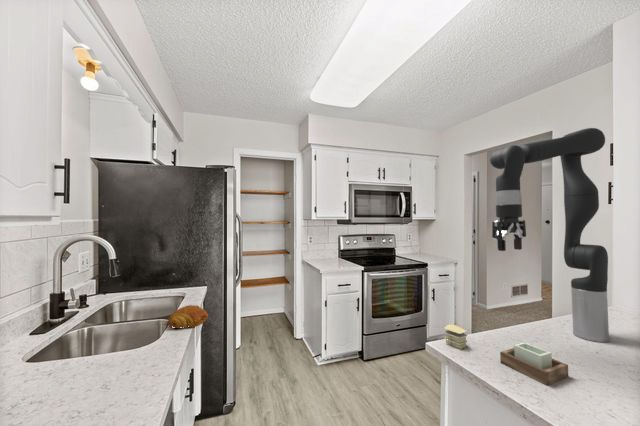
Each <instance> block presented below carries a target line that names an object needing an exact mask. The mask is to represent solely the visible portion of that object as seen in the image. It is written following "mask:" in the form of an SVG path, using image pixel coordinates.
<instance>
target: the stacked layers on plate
mask: <svg viewBox="0 0 640 426" xmlns="http://www.w3.org/2000/svg"><path fill="white" fill-rule="evenodd" d="M444 329H445V330H444V333H445V336H444V339H445V343H446V345H449V346H453V347H455V348H457V349H458V350H461V349H463V348H466V347H467V343H468V340H467V337H468V334H466V332H467V331H468V330H466V329H463V328H462V327H460V326H458V325H456V324H448V325H446V326H444ZM447 339H448V340H447Z"/></svg>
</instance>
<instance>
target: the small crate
mask: <svg viewBox="0 0 640 426" xmlns="http://www.w3.org/2000/svg"><path fill="white" fill-rule="evenodd" d="M513 346H514V347H513V348H514V354H515V357H516V358H519V359H521V360H523V361H525V362H528V363H530V364H532V365H534V366H537V367H539V368H541V369H543V370H546V369H548V368H551V367H552V359H553V358H552V355H553V354H552V352H550V351H548V350H545V349H542V348H540V347H538V346H536V345H533V344H530V343H527V342H525V341H524V342H521V343H517V344H514V345H513Z"/></svg>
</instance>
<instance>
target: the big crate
mask: <svg viewBox="0 0 640 426" xmlns="http://www.w3.org/2000/svg"><path fill="white" fill-rule="evenodd" d="M499 354H500V364H502V365H505V366H506V367H509V368H510V369H512V370H515V371H516V372H518V373H520V374H522V375H525V376H527V377H528V378H531V379H533V380H535V381H538V382H539V383H541V384H543V385H545V386H549V385H552V384H554V383H556V382H559V381H561V380H564V379H567V378H569V365H568V364H567V363H565V362H562V361H560V360H556V359H555V358H552V367H551V368H548V369H546V370H543V369H541V368H539V367H537V366H534V365H532V364H530V363H528V362H525V361H523V360H521V359H519V358H516V357H515V354H514V347H512V348H509V349H505V350H502V351H500V352H499Z"/></svg>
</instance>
